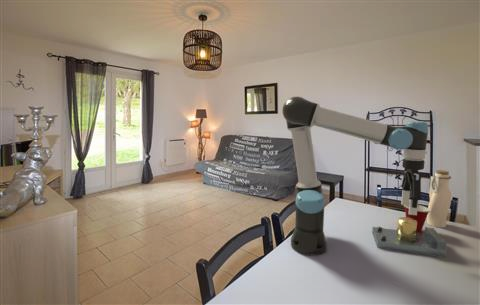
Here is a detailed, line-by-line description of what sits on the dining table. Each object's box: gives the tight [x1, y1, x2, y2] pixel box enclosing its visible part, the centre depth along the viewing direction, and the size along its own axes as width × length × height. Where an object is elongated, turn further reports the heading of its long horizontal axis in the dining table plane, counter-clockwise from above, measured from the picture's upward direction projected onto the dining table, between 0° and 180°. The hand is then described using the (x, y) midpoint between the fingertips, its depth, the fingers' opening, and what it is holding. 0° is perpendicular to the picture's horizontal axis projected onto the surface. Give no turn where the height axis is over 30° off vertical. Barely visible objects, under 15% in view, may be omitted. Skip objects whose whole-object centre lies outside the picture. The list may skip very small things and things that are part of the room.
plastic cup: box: [403, 203, 430, 233], centre depth 124 cm, size 11×11×12 cm
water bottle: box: [426, 169, 452, 228], centre depth 128 cm, size 10×9×28 cm
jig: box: [371, 226, 447, 258], centre depth 111 cm, size 24×14×6 cm, turn 71°
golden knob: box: [396, 216, 417, 242], centre depth 110 cm, size 7×7×10 cm
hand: (408, 209), depth 109 cm, fingers open, 11 cm apart
